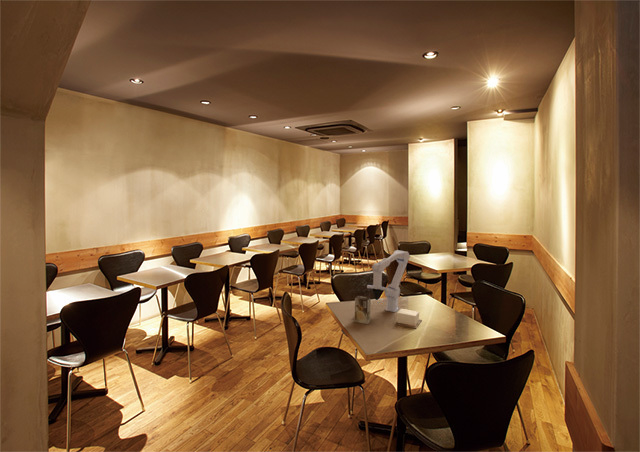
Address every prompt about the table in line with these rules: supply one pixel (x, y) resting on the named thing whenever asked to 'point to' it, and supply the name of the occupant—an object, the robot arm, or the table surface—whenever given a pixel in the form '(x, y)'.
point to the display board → (410, 325)
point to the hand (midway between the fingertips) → (376, 299)
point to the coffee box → (362, 309)
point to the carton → (408, 317)
